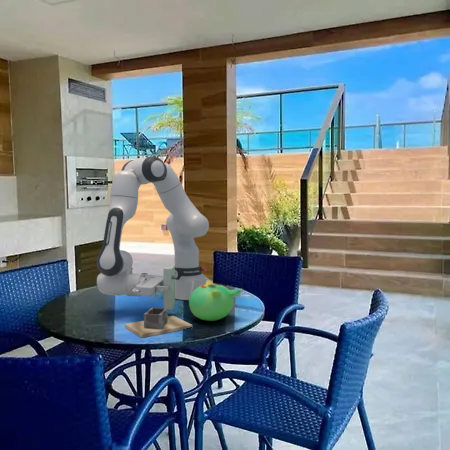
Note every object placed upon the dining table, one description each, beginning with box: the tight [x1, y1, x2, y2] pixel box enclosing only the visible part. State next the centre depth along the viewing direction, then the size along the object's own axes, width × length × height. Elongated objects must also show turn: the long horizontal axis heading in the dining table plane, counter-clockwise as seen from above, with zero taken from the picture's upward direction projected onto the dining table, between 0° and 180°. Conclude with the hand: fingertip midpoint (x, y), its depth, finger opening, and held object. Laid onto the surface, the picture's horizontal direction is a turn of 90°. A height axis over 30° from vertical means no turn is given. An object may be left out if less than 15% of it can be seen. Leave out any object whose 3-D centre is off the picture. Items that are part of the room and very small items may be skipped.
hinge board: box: [124, 307, 193, 339], centre depth 170 cm, size 20×14×6 cm
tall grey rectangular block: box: [162, 265, 176, 311], centre depth 185 cm, size 6×4×16 cm
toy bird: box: [188, 280, 244, 322], centre depth 181 cm, size 18×17×15 cm
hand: (171, 286), depth 185 cm, fingers closed on tall grey rectangular block, 6 cm apart
